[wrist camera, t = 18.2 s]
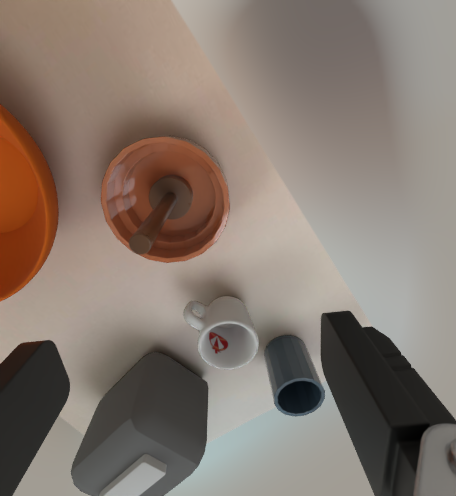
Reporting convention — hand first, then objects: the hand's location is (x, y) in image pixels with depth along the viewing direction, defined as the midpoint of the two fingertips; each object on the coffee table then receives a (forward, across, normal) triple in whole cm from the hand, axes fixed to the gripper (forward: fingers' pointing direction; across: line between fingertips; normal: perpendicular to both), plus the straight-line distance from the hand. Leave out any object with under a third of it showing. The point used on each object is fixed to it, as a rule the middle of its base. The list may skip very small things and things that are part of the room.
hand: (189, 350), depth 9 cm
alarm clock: (+32, +15, +33) cm, 48 cm away
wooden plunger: (+31, +6, +1) cm, 32 cm away
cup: (+32, +2, +19) cm, 37 cm away
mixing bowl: (+32, +6, +1) cm, 32 cm away
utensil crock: (+32, -8, +29) cm, 44 cm away
